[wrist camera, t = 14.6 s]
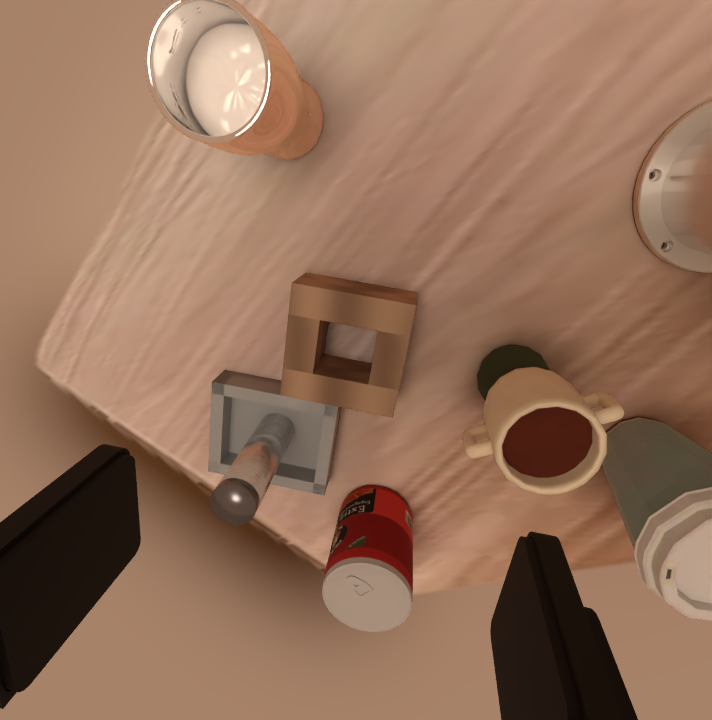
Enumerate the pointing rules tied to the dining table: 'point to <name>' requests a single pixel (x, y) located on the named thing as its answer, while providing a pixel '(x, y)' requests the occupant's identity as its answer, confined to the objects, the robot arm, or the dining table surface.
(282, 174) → the dining table surface
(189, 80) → the beer glass
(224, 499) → the pin
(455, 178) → the dining table surface
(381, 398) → the block
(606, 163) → the dining table surface
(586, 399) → the character mug
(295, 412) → the tray
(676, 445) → the disposable coffee cup
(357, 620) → the canned food
